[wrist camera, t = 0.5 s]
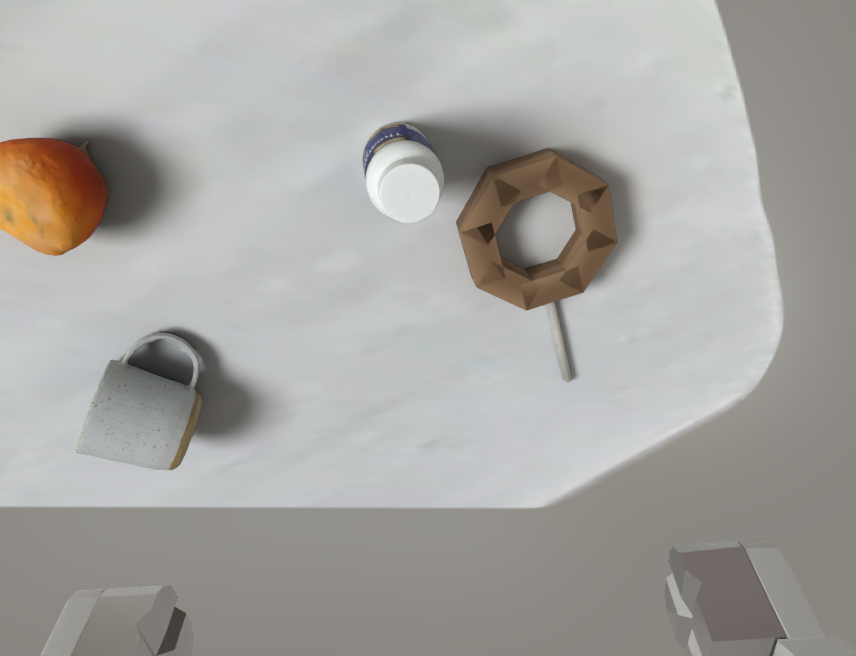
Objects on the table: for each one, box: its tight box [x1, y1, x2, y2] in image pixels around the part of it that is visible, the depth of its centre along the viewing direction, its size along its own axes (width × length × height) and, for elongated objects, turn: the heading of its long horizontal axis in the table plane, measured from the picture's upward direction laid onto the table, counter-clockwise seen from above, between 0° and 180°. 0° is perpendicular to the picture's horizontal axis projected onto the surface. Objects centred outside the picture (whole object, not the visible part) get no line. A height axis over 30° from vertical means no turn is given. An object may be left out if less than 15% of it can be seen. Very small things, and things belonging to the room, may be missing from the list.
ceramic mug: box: [75, 333, 202, 470], centre depth 55 cm, size 11×8×8 cm
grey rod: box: [546, 302, 572, 382], centre depth 61 cm, size 10×1×1 cm, turn 16°
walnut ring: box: [456, 148, 617, 311], centre depth 55 cm, size 12×12×2 cm
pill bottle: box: [363, 123, 444, 223], centre depth 48 cm, size 5×5×10 cm
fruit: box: [0, 138, 111, 256], centre depth 47 cm, size 8×8×8 cm
